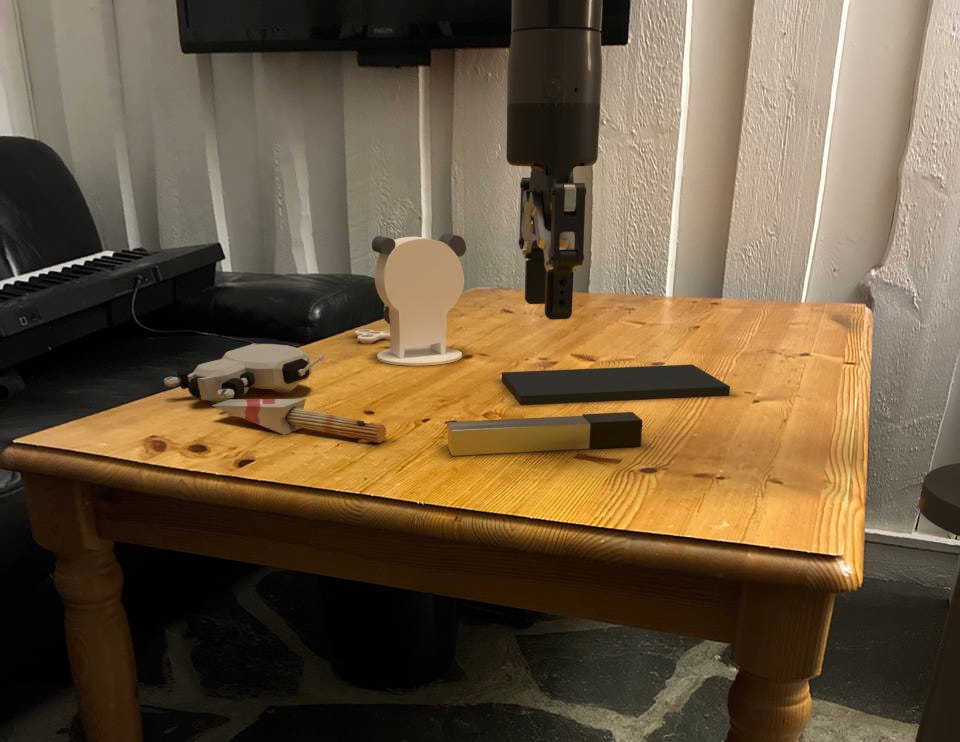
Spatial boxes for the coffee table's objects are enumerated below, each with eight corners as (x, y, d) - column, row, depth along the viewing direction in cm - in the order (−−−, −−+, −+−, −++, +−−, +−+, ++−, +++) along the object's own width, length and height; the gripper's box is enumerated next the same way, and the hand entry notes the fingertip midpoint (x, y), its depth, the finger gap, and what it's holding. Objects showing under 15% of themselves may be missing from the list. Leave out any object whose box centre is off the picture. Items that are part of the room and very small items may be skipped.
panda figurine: (446, 345, 133) (443, 230, 126) (480, 360, 124) (479, 236, 117) (365, 353, 128) (358, 234, 121) (395, 368, 119) (389, 241, 112)
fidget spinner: (354, 334, 140) (353, 329, 139) (396, 332, 141) (396, 327, 141) (358, 343, 134) (358, 337, 133) (403, 341, 135) (402, 335, 135)
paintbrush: (231, 384, 98) (391, 415, 90) (234, 410, 100) (392, 443, 92) (205, 391, 95) (368, 424, 87) (208, 418, 97) (369, 453, 89)
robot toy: (231, 424, 99) (333, 387, 109) (223, 381, 97) (327, 348, 107) (161, 406, 106) (263, 373, 116) (152, 366, 104) (257, 336, 113)
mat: (691, 372, 116) (692, 364, 116) (729, 395, 106) (730, 386, 105) (501, 380, 113) (501, 372, 113) (521, 404, 103) (521, 395, 102)
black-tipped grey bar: (630, 437, 91) (632, 411, 90) (640, 446, 88) (642, 420, 87) (447, 446, 89) (446, 420, 88) (452, 456, 86) (451, 429, 85)
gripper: (624, 96, 70) (610, 323, 77) (577, 102, 82) (569, 297, 90) (525, 96, 69) (520, 326, 76) (492, 102, 81) (491, 299, 89)
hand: (546, 310), depth 83 cm, fingers open, 8 cm apart
